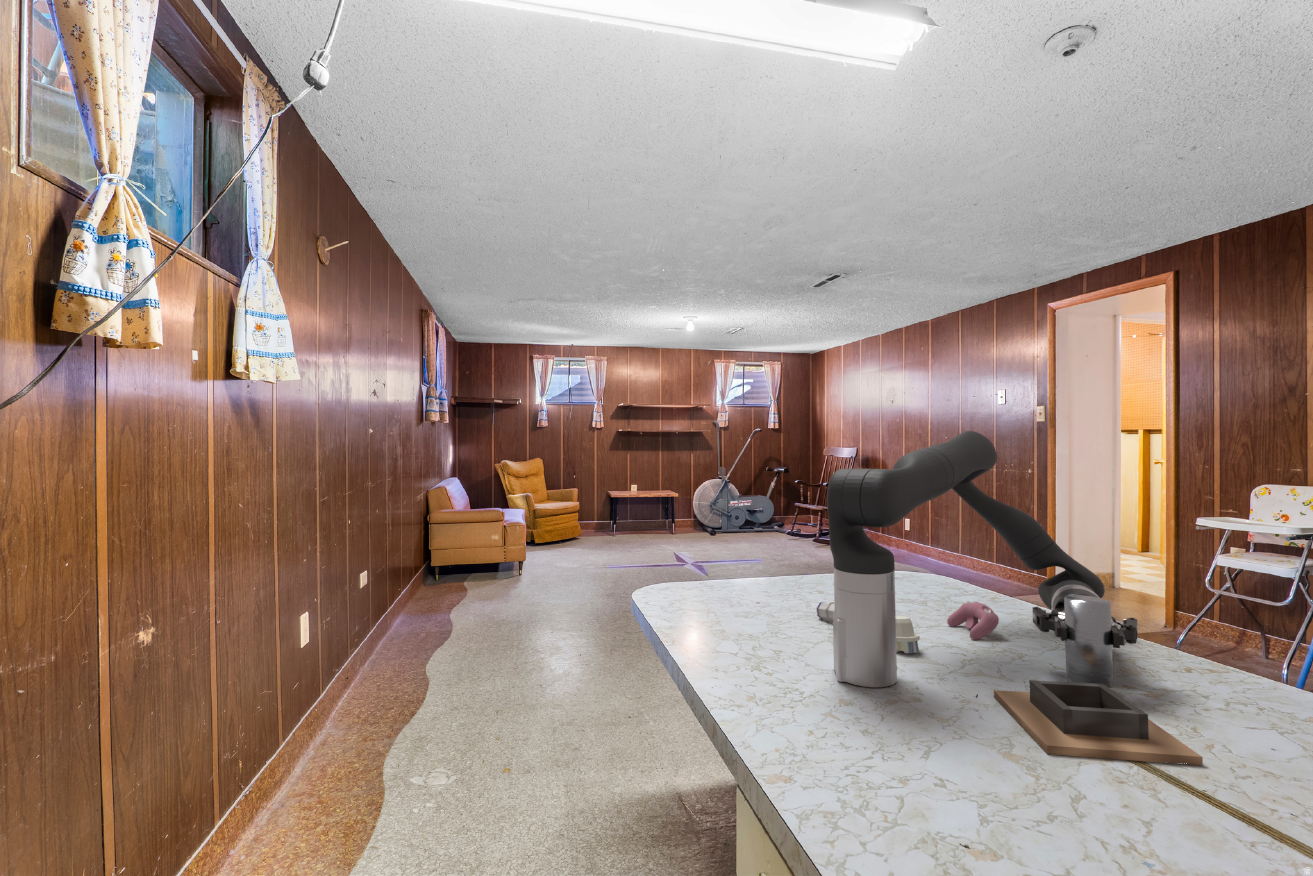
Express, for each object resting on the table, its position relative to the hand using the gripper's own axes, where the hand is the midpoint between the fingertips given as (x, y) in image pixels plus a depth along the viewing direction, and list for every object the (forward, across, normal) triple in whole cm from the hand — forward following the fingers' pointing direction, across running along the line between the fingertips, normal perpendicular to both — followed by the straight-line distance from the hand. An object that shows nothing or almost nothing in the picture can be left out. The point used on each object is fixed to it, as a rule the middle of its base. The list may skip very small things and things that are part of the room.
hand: (1090, 637), depth 84 cm
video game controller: (-25, -16, +9) cm, 31 cm away
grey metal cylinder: (-3, 0, +7) cm, 7 cm away
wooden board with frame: (+12, -2, +8) cm, 15 cm away
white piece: (-13, -34, +9) cm, 38 cm away
